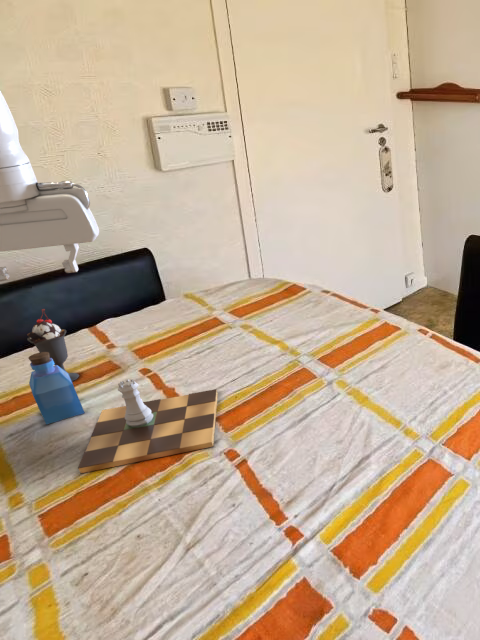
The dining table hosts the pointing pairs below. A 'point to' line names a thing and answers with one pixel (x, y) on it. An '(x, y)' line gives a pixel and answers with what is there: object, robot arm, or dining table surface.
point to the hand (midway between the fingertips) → (38, 275)
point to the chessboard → (152, 432)
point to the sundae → (51, 342)
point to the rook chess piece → (134, 404)
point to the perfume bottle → (53, 389)
